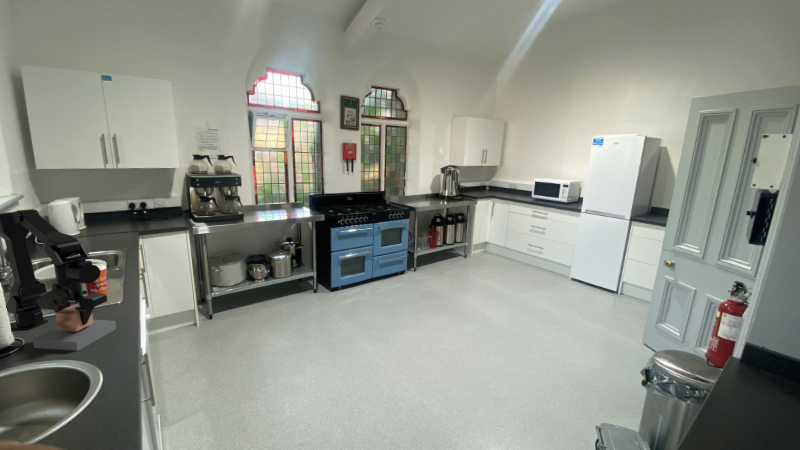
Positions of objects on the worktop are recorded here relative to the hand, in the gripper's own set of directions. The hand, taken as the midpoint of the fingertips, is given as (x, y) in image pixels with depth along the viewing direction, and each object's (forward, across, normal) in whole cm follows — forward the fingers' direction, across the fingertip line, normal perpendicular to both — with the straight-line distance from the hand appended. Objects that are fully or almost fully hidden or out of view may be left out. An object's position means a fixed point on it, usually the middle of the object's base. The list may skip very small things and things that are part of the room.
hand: (75, 323), depth 112 cm
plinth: (+5, 0, 0) cm, 5 cm away
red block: (+1, 0, 0) cm, 1 cm away
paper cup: (+5, -21, +30) cm, 37 cm away
